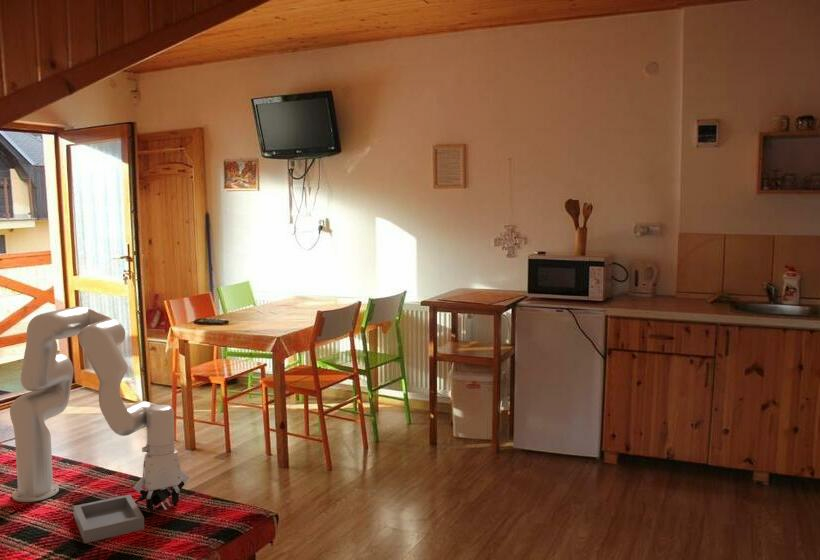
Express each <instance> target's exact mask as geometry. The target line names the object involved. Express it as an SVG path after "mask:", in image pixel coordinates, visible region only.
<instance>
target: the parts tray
mask: <svg viewBox="0 0 820 560" xmlns="http://www.w3.org/2000/svg"><path fill="white" fill-rule="evenodd" d="M135 501H136V500H134V498H133V497H132V494H130V493H129V494H125V495H120V496H115V497H111V498H107V499H106V498H105V499H100V500H96V501H91V502H87V503H81V504H77V505H73V518H74V521H75V524H76V526H77V528H78V531H79V533H80V536H81V539H82V541H83V543H84V544H88V543H93V542H96V541H101V540H105V539H109V538H114V537H117V536H122V535H125V534H131V533H134V532H140V531H143V530H145V517H144V515H143V513H142V511H141V510H140V508H139V506H138V505H137V503H135ZM92 541H93V542H92Z"/></svg>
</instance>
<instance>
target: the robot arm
mask: <svg viewBox="0 0 820 560" xmlns="http://www.w3.org/2000/svg"><path fill="white" fill-rule="evenodd" d="M75 336H78V342H79V345H80V346H81V349H82V350H83V353H84V355H85V356H86V358H87V360H88V361H89V363H90V366H91V367H92V369H93V371H94V373H95V375H96V376H97V379H98V381H99V385H98V404H99V408H100V411H101V413H102V415H103V417H104V419H105V421H106V423H107V425H108V426H109V428H110V429H111V431H113V432H114V433H115V434H116V435H118V436H121V437H125V436H129V435H132V434H134V433H135V432H138V431H139V430H141V429H144V428H146V445H145V446H143V447H141V451H142V453H145V454H144V459H143V467H142V477H140V479H139V480H138V481H137V482H136V484H135V485H134V486H133V489H134V490H135V491H136V493H139V494H141V495H140V496H142V495H143V496H144V497H146V499H145V505H146V506H145V507H146V509H148V511H149V512H150V513H153V511H154V505H153V498H152V493H153V490H158V489H163V488H167V487H168V488H172V490H171V493H172V495H171V505H173V506H174V507H177V506H178V503H179V502H180V501H179V498H180V497H179V493H180V492H181V490H182V489H183V487H184V486H185V484H186V483H187V482H188V481H189V480H190V476H189V475H188V474H186V472H184V471H183V470H182V467H181V460H180V455H179V451H178V450H177V449H176V447H175V446H176V445H175V443H176V442H175V411H174V410H175V409H174V408H173V406H171V405H170V404H157V403H152V402H150V401H146V400H140V401H137V402H135V403H132V404H130V405H127V406H125V404H124V402H123V399H122V396H121V390H120V389H121V383H122V381H123V378H124V376H125V374H126V373H127V372H128V370H129V367H128V363H127V362H126V360H125V357H124V356H123V354H122V353H121V350H120V349H119V347H118V346H120V345H121V344H122V343H123V342H124V341H125V339H126V331H125V327H124V326H123V325H122V323H120V322H119V321H118V320H117V319H115V318H113V317H111V316H109V315H107V314H104V313H102V312H100V311H97V310H95V309H92V308H90V307H87V306H82V305H81V306H78V305H77V306H72V307H68V308H62V309H57V310H52V311H47V312H44V313H39V314H37V315H36V316H34V317H33V318H31V320H30V321H28V325H27V328H26V339H25V340H26V343H25V350H24V355H23V359H22V360H23V361H22V365H21V374H20V383H21V385H22V387H23V388H24V389H25V390H26V391H29V392H27V393H24V394H21V395H20V396H19V397H17V398H15V399H14V401H13V402H12V403H11V404H10V408H9V417H10V420H11V423H12V428H13V431H14V433H13V434H14V443H15V444H14V445H15V460H16V477H17V489H15V490H13V492H12V494H11V495H12V499H13V500H14V501H16V502H20V503H33V502H39V501H42V500H47V499H49V498H51V497H53V496H55V495H57V494H58V492H59V490H60V485H59V484H57V483H55V482H54V479H53V476H54V475H53V457H52V437H51V436H52V435H51V432H50V430H49V428H48V427H47V425H46V423H45V421H47V420H49V419H51V418H53V417H56V416H58V415H60V414H63V412H64V411H65V410H66V409H67V407H68V403H69V401H70V396H71V389H72V384H73V379H74V365H73V362H72V360H71V358H69V357H68V356H67V355H66V354H64V353H60V352H59V353H58V350H59V349H58V343H57V340H63V339H67V338H71V337H75ZM142 486H144V489H143V488H142Z"/></svg>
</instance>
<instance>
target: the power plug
mask: <svg viewBox="0 0 820 560" xmlns="http://www.w3.org/2000/svg"><path fill="white" fill-rule="evenodd" d="M169 497H172V491H170V489H169V487H167V488H163V489H158V490H153V493H152V498H153V507H156V506H158V505H160V506H161V507H162V508H163V510H164V511H167V509H168V508H167V506H166V505H165V503H164V501H165V502H166V503H167V505H168V507H171V506H172V502H170V500H169ZM144 500H145V501H146V497H144V496H143V495H140V496H138V498H137V499H136V500H134V501H135V503H136V504H137V503H139V502H143V501H144Z"/></svg>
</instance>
